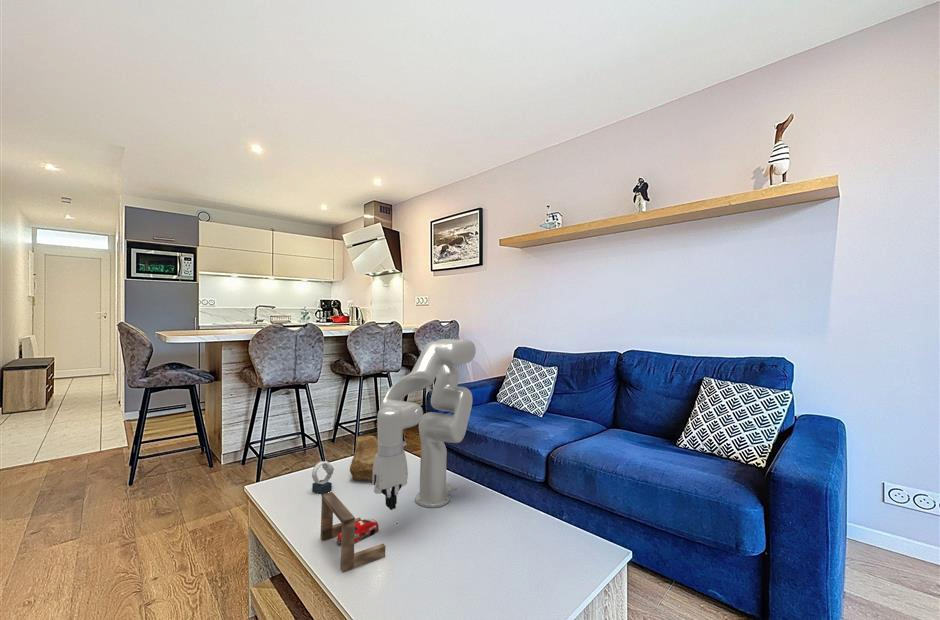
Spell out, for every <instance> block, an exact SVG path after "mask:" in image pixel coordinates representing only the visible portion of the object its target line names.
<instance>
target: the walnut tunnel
mask: <svg viewBox="0 0 940 620" xmlns="http://www.w3.org/2000/svg"><path fill="white" fill-rule="evenodd" d="M334 516H336V518H337V519H338V520H339V521H340V523H337V524H336V523H335V524H334V523H333V521H334ZM360 520H363V519H362V518H361V517H357V518H356V517H355V516H354V514H353V513H351V511H350V510H349V509H348V508H347V507H346V506H345V504H344V503H343V502H342V501H341V500H340V499H339V498H338V496H336V494H335V493H334V492H333V491H331V492H329V493H324V494H322V495H321V515H320V538H319V539H320V541H321V542H324V541H327V540H331V539H334V538H337V537H338V535H339V534H340V533H341V532H342V533H341V545H340V567H339V570H340V572H341V573H344V572H347V571H350V570H352V569H356V568H359V567H361V566H364V565H367V564H370V563H373V562H375V561H378V560H380V559H381V560H382V559H384V558H385V557H386V548H387V547H386V545H385V543H381V544H378V545H375V546H372V547H369V548H368V547H367V548H366V549H364V550H359V551H357V552H355V543H354V539H355V523H356V522H358V521H360Z"/></svg>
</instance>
